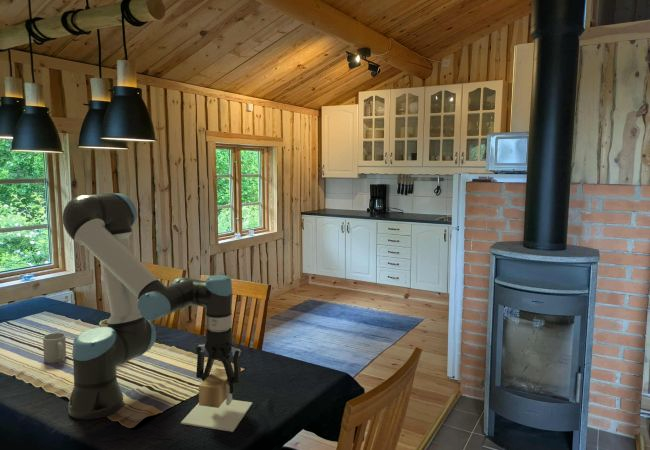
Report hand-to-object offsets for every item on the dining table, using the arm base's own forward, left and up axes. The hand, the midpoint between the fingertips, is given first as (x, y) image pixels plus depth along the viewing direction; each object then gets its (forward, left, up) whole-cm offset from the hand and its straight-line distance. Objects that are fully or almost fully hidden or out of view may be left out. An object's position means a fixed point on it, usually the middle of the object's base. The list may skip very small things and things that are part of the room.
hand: (218, 401), depth 144 cm
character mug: (-57, +29, -4) cm, 64 cm away
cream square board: (0, 0, -4) cm, 4 cm away
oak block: (0, -7, +5) cm, 9 cm away
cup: (-72, +19, -4) cm, 75 cm away
